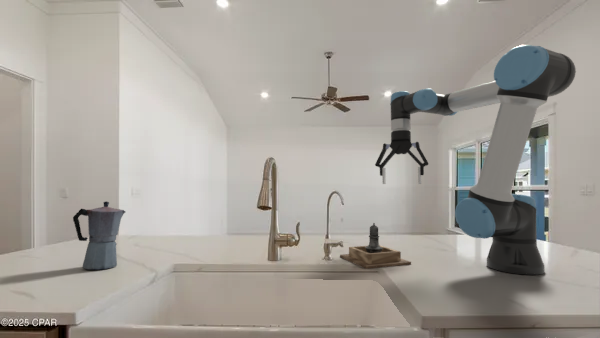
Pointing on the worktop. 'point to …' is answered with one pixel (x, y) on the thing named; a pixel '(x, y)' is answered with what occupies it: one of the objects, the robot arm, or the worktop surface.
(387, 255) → the holder
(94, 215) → the moka pot
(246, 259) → the worktop surface
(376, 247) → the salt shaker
